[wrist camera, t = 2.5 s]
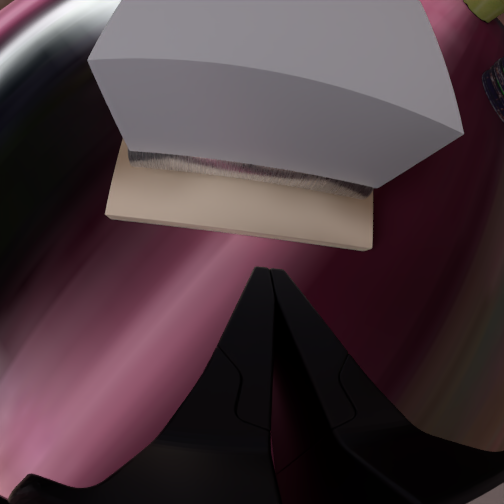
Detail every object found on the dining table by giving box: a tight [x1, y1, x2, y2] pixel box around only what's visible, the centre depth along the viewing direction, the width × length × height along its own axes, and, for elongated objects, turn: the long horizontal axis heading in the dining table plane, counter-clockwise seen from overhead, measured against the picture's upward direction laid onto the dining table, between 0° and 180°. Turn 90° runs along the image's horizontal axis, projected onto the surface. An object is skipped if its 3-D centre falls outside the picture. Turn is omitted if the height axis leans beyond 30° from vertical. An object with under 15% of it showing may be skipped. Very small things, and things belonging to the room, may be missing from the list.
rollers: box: [128, 149, 374, 200], centre depth 17 cm, size 17×13×4 cm
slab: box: [88, 0, 464, 188], centre depth 11 cm, size 8×12×6 cm, turn 84°
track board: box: [105, 139, 373, 251], centre depth 19 cm, size 21×16×1 cm
